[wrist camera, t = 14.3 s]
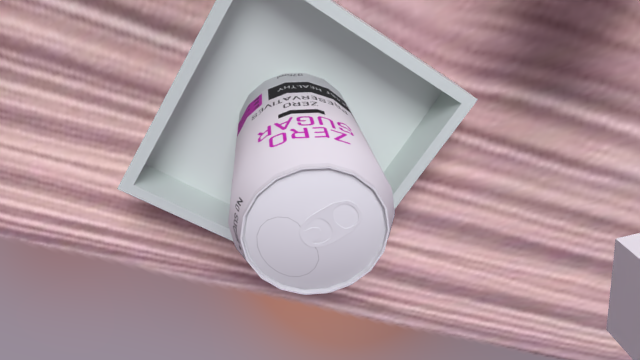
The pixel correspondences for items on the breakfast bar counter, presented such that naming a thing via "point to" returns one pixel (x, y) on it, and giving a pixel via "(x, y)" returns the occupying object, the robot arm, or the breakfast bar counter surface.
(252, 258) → the supplement can
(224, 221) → the sage bin
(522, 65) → the breakfast bar counter surface
